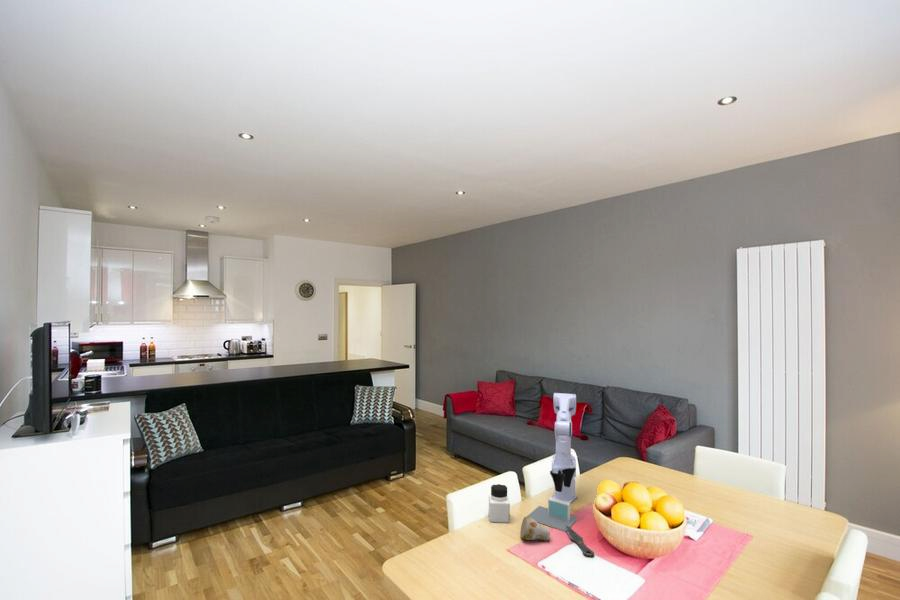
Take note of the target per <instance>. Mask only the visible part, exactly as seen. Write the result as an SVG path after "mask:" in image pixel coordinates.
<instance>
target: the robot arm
mask: <svg viewBox="0 0 900 600" xmlns="http://www.w3.org/2000/svg"><path fill="white" fill-rule="evenodd" d="M552 398H553V410H554V413H555V414H556V421H554V436H555V437H554V438H555V453H554V454H553V455H552V457H551V458H552V460H551V470H550V471H549V474H550V476H551V478H552V481H553V484H554V494H553V496H551V497H550V498H553V499H557V500H560V501H564V502H568V503H570V504H572V502H574V500H575V499H577V498H578V495H577V494H576V480H575V479H576V477H577V463H576V461H577V460H576V458H575V456H574V455H573V454H572V451H571V450H572V448H571V447H572V436H573V422H572V417H573V416H575V415H576V411H577V394H575V393H561V392H554V393H553V397H552Z"/></svg>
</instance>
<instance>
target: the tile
mask: <svg viewBox="0 0 900 600" xmlns="http://www.w3.org/2000/svg"><path fill="white" fill-rule="evenodd" d="M547 508H548V515H550V516H553V517H556V518H559V519H563V520H566V521H569V520H570V515H571V503H568V502H564V501H560V500H557V499H553V498H551V497H549V498H548V500H547Z"/></svg>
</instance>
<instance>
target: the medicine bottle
mask: <svg viewBox="0 0 900 600" xmlns="http://www.w3.org/2000/svg"><path fill="white" fill-rule="evenodd" d="M510 509H511V508H510V500H509V497H508V486H507V485H505V484H503V483H494V484H492V485H491V486H490V494H489V495H488V517H489V522H490V523H506V524H507V523H508V524H509V523H510Z"/></svg>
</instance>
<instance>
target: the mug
mask: <svg viewBox="0 0 900 600" xmlns="http://www.w3.org/2000/svg"><path fill="white" fill-rule="evenodd" d="M550 537H551V530H550V529H549V528H548V527H547V526H544V525H542V524H539V523H537V522H536V521H535V520H534V519H532V518H530V517H527V516H524V517H523V519H522V523H521V525H520V538H521V539H523V540H525V541H534V540H542V541H546V542H547V541H548V540H549V539H550Z"/></svg>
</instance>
